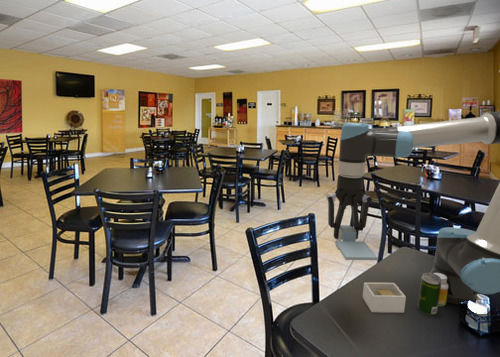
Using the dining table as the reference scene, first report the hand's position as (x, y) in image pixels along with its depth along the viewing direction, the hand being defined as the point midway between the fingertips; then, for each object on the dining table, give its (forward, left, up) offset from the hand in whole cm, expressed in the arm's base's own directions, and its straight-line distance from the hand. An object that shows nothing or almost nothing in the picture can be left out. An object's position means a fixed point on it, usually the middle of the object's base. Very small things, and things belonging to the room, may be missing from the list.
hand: (344, 248), depth 98 cm
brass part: (-14, +2, -19) cm, 23 cm away
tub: (-13, +2, -19) cm, 23 cm away
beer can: (-26, +4, -19) cm, 33 cm away
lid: (0, +6, +3) cm, 7 cm away
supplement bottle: (-32, -1, -19) cm, 37 cm away
